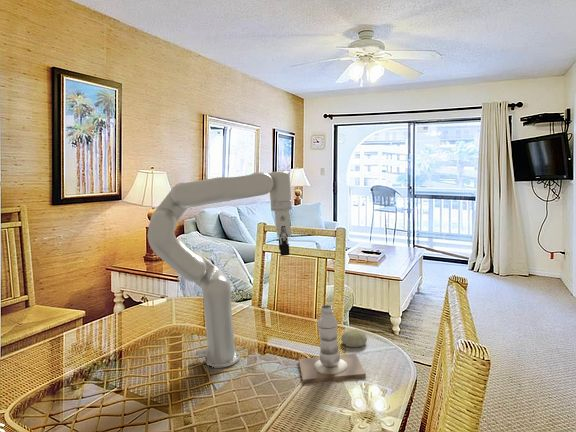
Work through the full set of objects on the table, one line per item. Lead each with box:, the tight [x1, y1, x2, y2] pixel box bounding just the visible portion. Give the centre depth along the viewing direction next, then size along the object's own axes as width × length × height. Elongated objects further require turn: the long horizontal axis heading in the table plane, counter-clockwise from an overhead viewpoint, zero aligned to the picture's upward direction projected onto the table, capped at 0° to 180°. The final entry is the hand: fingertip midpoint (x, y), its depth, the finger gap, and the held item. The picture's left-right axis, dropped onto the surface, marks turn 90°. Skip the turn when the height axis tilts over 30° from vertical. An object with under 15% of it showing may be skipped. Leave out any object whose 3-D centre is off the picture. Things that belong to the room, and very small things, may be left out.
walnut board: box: [298, 353, 367, 384], centre depth 139 cm, size 20×14×1 cm
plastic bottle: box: [316, 304, 341, 367], centre depth 138 cm, size 6×7×20 cm
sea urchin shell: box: [341, 329, 368, 348], centre depth 157 cm, size 9×8×8 cm
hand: (284, 252), depth 153 cm, fingers open, 9 cm apart
